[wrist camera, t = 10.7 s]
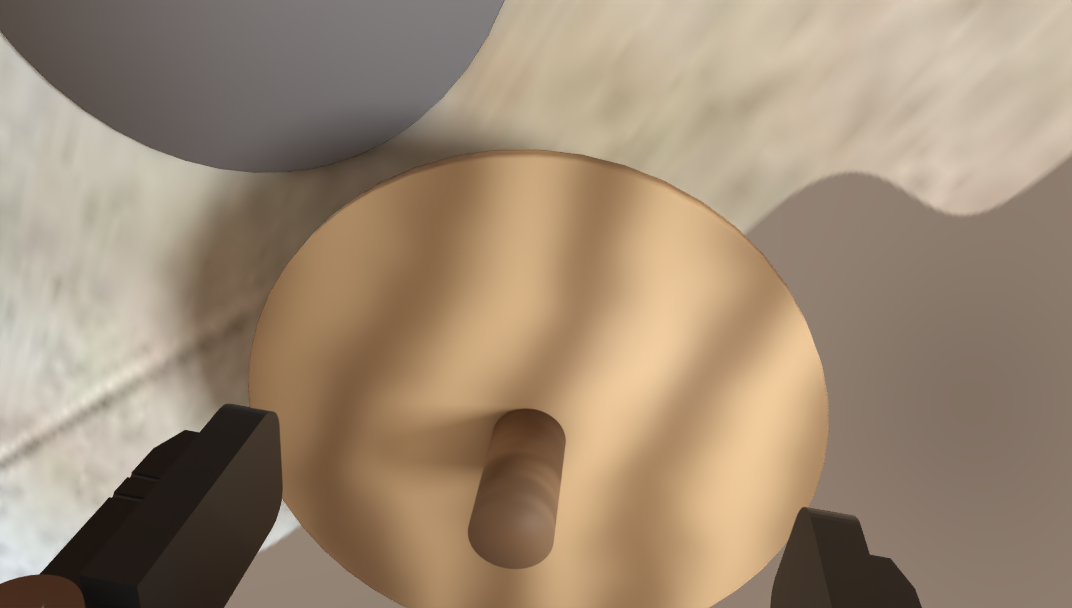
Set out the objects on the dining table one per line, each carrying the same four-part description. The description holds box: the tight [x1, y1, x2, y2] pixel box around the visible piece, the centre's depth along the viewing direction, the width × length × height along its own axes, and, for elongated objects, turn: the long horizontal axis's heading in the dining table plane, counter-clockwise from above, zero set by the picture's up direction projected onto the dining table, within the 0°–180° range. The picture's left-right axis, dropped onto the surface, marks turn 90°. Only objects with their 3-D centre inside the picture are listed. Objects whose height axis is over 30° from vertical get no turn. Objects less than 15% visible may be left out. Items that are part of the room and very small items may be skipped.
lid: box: [248, 150, 829, 608], centre depth 33 cm, size 25×25×7 cm
